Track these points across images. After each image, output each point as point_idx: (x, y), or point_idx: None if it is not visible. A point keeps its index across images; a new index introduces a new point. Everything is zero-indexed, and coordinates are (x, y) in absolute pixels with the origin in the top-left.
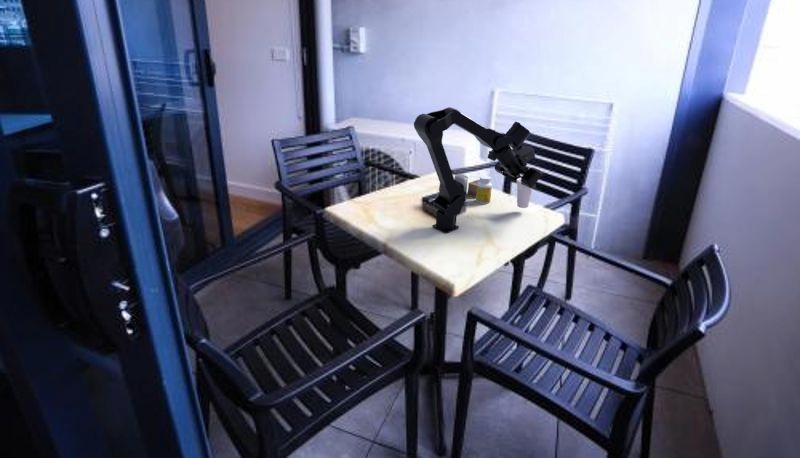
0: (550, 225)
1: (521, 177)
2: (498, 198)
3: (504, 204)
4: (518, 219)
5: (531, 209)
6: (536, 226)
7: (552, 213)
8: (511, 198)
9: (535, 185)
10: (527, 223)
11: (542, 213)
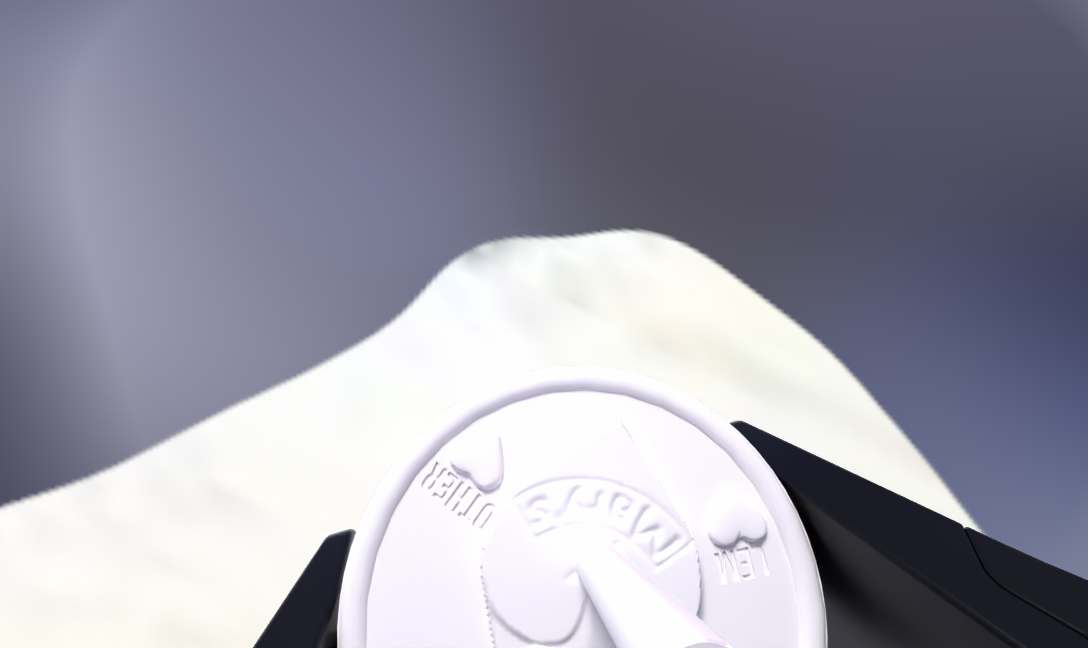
0: (847, 385)
1: (324, 623)
2: (105, 623)
3: None
4: None
5: None
6: None
7: (607, 246)
8: (163, 462)
9: (788, 445)
10: None
11: (595, 329)
